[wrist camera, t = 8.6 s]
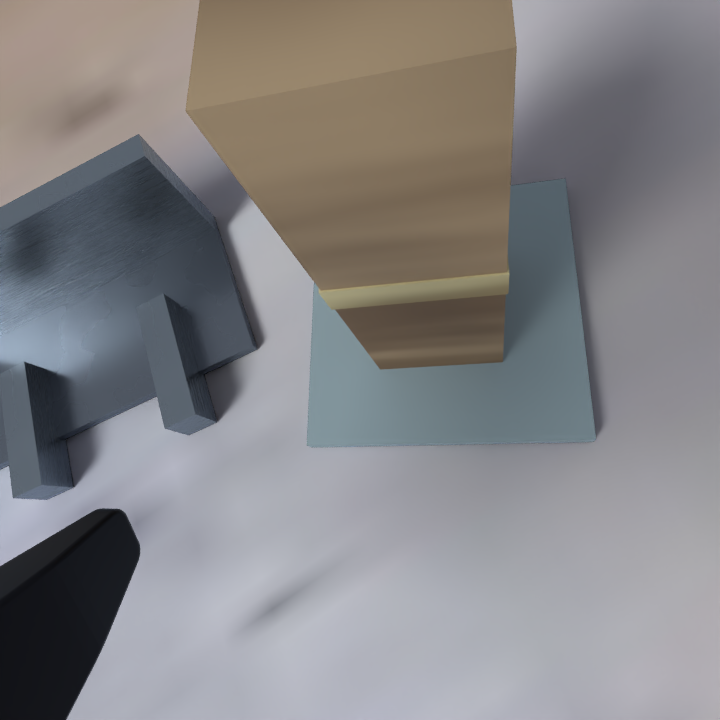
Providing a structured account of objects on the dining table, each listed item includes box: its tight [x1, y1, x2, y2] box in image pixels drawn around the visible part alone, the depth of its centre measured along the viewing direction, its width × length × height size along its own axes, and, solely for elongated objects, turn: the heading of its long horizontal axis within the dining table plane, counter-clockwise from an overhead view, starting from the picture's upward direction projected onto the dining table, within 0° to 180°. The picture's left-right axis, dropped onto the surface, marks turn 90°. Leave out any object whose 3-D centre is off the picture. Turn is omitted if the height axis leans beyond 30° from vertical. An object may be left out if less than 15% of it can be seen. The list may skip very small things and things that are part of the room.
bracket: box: [0, 134, 257, 500], centre depth 19 cm, size 8×12×5 cm
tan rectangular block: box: [186, 0, 517, 370], centre depth 12 cm, size 4×4×12 cm
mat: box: [307, 179, 596, 447], centre depth 18 cm, size 9×9×1 cm
